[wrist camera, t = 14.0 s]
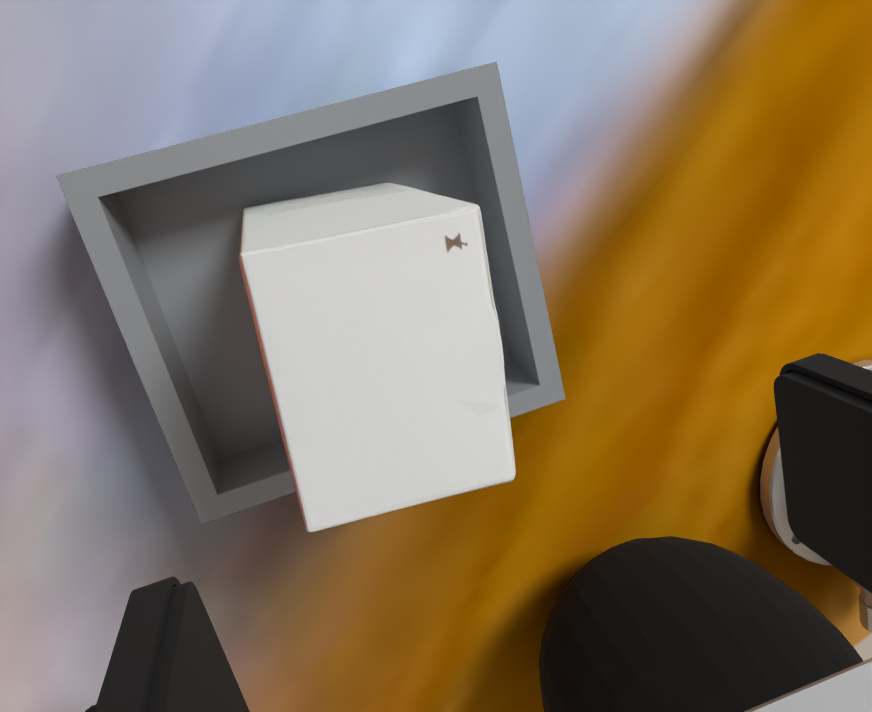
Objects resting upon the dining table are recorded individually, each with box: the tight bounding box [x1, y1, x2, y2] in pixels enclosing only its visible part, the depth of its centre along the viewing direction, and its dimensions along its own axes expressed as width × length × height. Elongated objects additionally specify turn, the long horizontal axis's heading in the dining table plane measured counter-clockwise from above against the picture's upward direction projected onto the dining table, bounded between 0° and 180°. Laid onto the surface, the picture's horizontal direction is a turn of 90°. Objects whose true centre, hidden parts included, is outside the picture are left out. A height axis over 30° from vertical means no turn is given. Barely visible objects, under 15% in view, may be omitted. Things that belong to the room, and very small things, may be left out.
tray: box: [56, 62, 565, 524], centre depth 30 cm, size 14×16×4 cm
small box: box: [239, 182, 516, 532], centre depth 25 cm, size 8×6×13 cm
